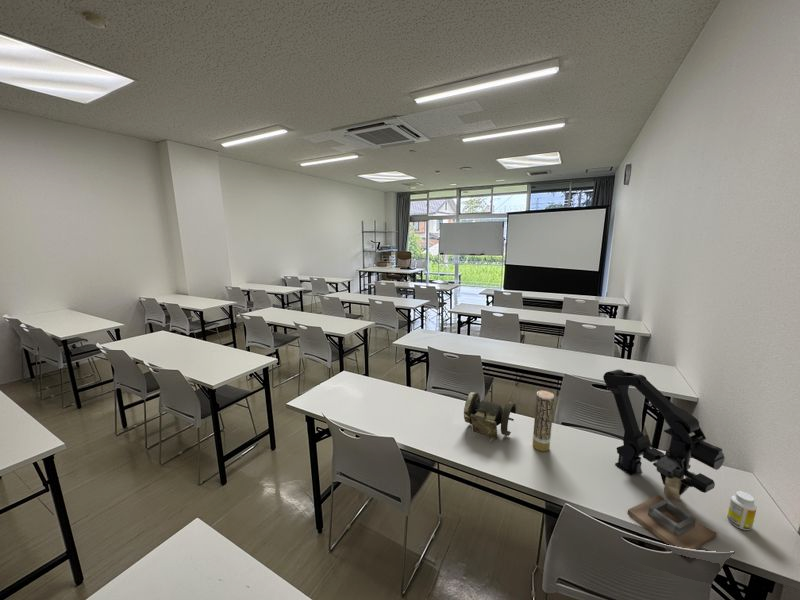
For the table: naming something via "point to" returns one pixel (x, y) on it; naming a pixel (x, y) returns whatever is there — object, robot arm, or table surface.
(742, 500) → the supplement bottle
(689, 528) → the collar socket
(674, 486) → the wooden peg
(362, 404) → the table surface
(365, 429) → the table surface
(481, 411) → the bench grinder
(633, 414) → the robot arm
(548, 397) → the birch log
